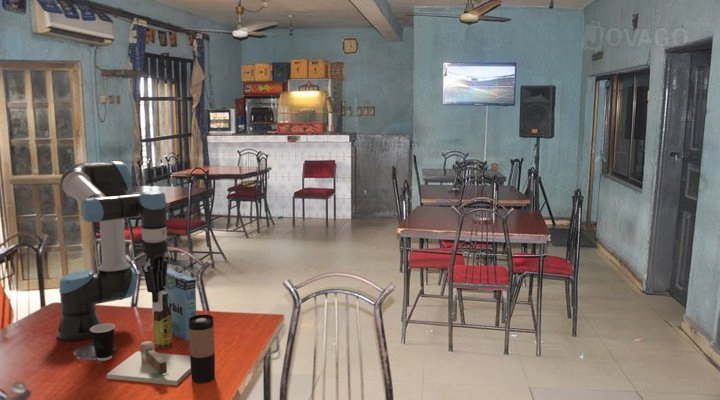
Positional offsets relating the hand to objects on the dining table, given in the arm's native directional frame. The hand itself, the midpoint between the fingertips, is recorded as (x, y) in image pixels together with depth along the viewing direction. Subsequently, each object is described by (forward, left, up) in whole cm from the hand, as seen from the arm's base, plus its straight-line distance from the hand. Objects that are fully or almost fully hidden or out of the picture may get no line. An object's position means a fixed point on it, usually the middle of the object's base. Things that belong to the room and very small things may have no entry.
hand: (157, 310), depth 192 cm
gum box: (-9, +30, -20) cm, 37 cm away
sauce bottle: (-8, +17, -20) cm, 28 cm away
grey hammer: (0, -3, -18) cm, 19 cm away
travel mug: (+17, -4, -20) cm, 27 cm away
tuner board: (-1, -1, -20) cm, 20 cm away
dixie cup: (-23, +4, -20) cm, 31 cm away
